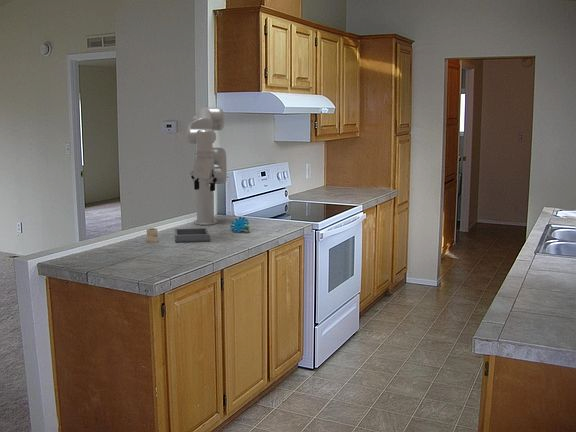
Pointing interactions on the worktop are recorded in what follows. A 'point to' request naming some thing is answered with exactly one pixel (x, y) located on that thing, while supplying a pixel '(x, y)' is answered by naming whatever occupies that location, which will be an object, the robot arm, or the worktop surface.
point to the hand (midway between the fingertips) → (204, 190)
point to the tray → (191, 235)
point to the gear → (240, 225)
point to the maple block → (152, 235)
